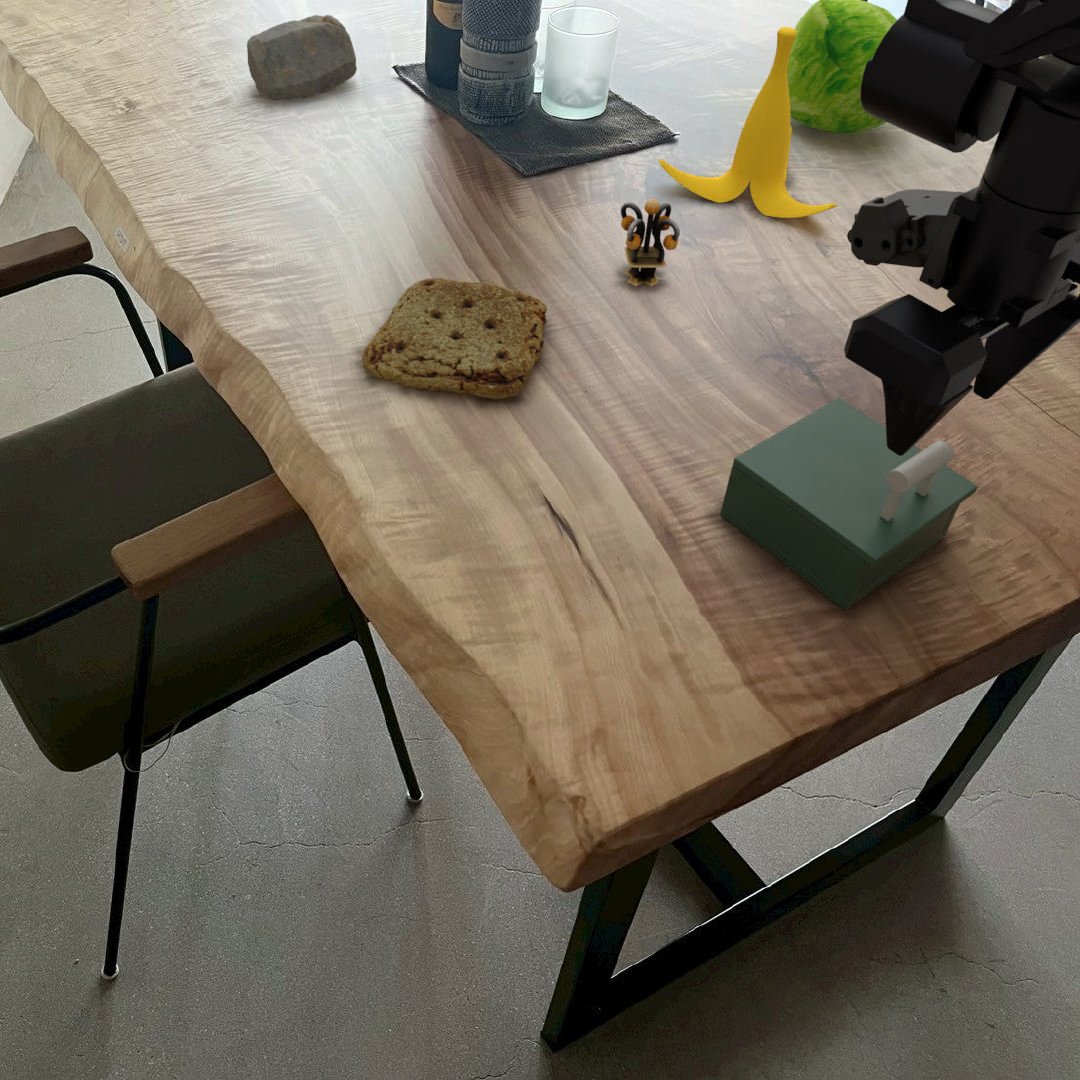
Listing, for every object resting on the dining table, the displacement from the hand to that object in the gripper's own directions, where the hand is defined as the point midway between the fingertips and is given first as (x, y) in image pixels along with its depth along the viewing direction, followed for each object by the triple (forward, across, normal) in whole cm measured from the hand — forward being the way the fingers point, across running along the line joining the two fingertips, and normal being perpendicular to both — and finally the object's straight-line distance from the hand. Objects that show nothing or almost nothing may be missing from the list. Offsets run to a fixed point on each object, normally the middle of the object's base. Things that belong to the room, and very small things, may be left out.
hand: (939, 422), depth 65 cm
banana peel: (+13, -34, -40) cm, 54 cm away
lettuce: (+13, -56, -49) cm, 75 cm away
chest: (+13, 0, -4) cm, 13 cm away
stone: (+13, -8, -90) cm, 92 cm away
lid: (+8, 0, -4) cm, 9 cm away
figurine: (+13, -12, -37) cm, 41 cm away
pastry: (+13, +8, -38) cm, 41 cm away
